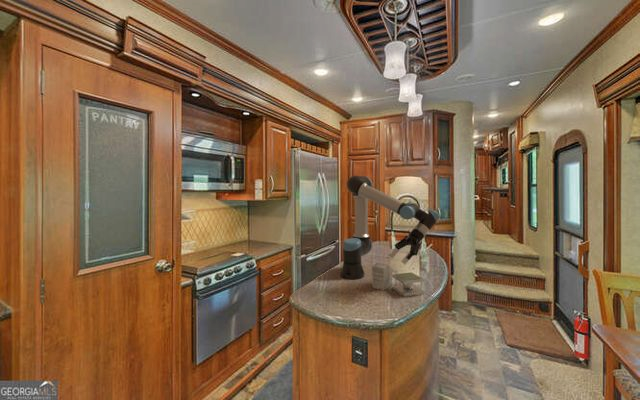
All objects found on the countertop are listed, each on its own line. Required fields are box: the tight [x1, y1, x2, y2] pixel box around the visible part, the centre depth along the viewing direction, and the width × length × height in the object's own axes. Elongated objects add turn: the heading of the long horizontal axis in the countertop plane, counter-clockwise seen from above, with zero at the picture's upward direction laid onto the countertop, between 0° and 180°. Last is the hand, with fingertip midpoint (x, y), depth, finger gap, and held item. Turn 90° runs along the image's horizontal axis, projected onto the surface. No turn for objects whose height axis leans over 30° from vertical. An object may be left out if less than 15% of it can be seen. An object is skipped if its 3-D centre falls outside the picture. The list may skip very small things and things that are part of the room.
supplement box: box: [371, 262, 390, 291], centre depth 153 cm, size 7×7×13 cm
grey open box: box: [391, 271, 425, 298], centre depth 146 cm, size 12×12×8 cm
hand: (396, 260), depth 155 cm, fingers open, 13 cm apart
